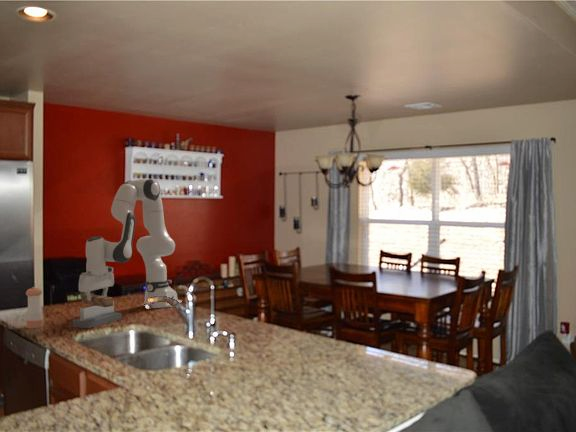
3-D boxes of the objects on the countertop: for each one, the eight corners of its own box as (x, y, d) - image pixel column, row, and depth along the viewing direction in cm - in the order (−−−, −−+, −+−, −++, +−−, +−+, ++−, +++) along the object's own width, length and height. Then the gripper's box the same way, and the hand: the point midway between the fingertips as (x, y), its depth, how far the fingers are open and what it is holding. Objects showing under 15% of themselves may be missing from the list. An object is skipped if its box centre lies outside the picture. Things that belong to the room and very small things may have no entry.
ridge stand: (106, 317, 281) (105, 299, 281) (121, 318, 277) (121, 300, 277) (72, 327, 262) (72, 308, 261) (88, 328, 257) (88, 309, 257)
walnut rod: (113, 305, 265) (112, 297, 264) (105, 307, 261) (105, 298, 261) (89, 301, 277) (88, 293, 277) (82, 302, 274) (81, 294, 273)
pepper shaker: (46, 324, 267) (44, 285, 266) (38, 328, 260) (36, 288, 259) (32, 324, 268) (30, 285, 267) (23, 328, 261) (21, 288, 260)
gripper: (84, 273, 258) (85, 302, 258) (115, 267, 276) (116, 295, 277) (74, 273, 260) (75, 302, 261) (106, 267, 279) (107, 294, 279)
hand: (97, 298), depth 269 cm, fingers open, 8 cm apart
